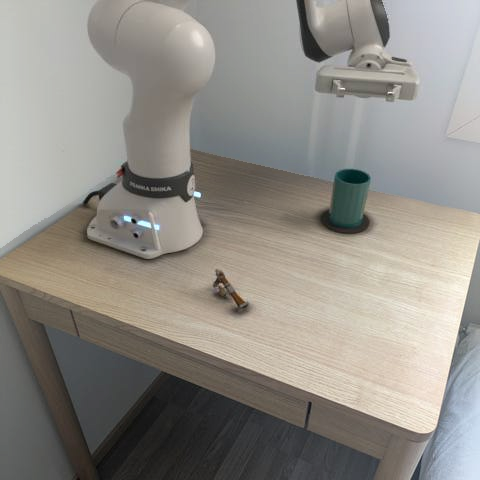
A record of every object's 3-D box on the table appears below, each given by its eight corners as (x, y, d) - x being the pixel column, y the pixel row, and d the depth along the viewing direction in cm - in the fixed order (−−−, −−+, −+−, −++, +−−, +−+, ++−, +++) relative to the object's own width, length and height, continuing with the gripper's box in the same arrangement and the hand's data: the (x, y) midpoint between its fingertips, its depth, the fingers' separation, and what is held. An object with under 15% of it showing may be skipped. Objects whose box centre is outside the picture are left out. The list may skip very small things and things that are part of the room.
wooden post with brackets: (215, 279, 85) (221, 264, 81) (242, 315, 83) (250, 302, 79) (206, 283, 84) (212, 268, 80) (233, 319, 82) (241, 306, 78)
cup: (326, 224, 100) (332, 181, 93) (331, 208, 105) (338, 166, 98) (359, 230, 98) (368, 186, 92) (363, 214, 103) (372, 171, 97)
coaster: (316, 228, 99) (316, 227, 99) (324, 205, 106) (325, 204, 106) (366, 237, 97) (366, 236, 97) (371, 212, 104) (371, 211, 104)
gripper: (319, 53, 103) (312, 73, 93) (419, 61, 100) (424, 82, 90) (315, 85, 107) (309, 107, 97) (412, 93, 104) (415, 117, 94)
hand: (365, 95), depth 94 cm, fingers open, 8 cm apart
